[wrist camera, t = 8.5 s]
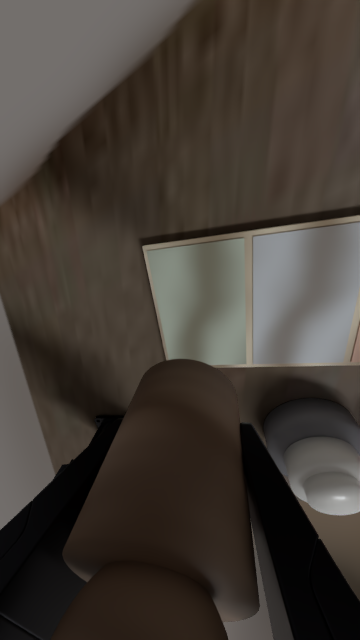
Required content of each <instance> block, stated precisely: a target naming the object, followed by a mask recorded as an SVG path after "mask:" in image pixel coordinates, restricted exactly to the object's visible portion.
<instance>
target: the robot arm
mask: <svg viewBox="0 0 360 640" xmlns="http://www.w3.org/2000/svg"><path fill="white" fill-rule="evenodd" d="M123 418H124V417H123V416H96V418H95V423H96V425H97V427H98V430H97V431H96V433H95V435H94V437H93V439H92V440H91V442H90V444H89V446H88V447H87V448H86V449H85V450H84V451H83V452H82V453H81V454H80V455H79V456H77V457H76V458H75V459H74V460H73V459H72V460H71V462H70V463H69V464H64V465H62V466H61V468H60V469H59V471H58V473H57V474H56V476H55V477H54V479H53V481H51V483H49V484H48V485H47V486H46V487H45V488H44V489H43V490H42V491H41V492H40V493H39V494H38V495H37V496H36V497H35V498H34V499H33V501H31V502H30V503H29V504H28V505H26V506H25V507H24V508H23V509H22V510H21V511H20V512H19V513H18V514H17V515H16V516H15V517H14V518H13V519H12V520H11V521H10V522H8V523H7V525H5V526H4V527H3V528H2V529H1V530H0V640H50V639H51V637H52V635H53V633H54V631H55V630H56V628H57V626H58V624H59V622H60V620H61V618H62V617H63V615H64V614H65V612H66V610H67V609H68V607H69V605H70V604H71V602H72V601H73V600H74V598H75V597H76V596H77V594H78V593H79V592H80V590H81V589H82V588H83V587H84V586H85V584H86V583H87V582H86V581H85V580H83V579H82V578H80V577H79V576H78V575H77V574H75V573H74V572H73V571H72V570H71V569H70V568H69V567H68V565H67V564H66V563H65V561H64V559H63V555H62V553H63V549H64V547H65V544H66V542H67V540H68V538H69V536H70V534H71V531H72V529H73V527H74V525H75V523H76V520H77V518H78V516H79V514H80V512H81V510H82V507H83V505H84V503H85V501H86V499H87V497H88V494H89V492H90V490H91V488H92V486H93V483H94V481H95V479H96V477H97V475H98V473H99V470H100V468H101V466H102V464H103V462H104V460H105V457H106V455H107V453H108V451H109V449H110V446H111V444H112V442H113V440H114V438H115V436H116V433H117V431H118V429H119V427H120V425H121V423H122V420H123ZM240 430H241V440H242V449H243V459H244V466H245V474H246V482H247V492H248V501H249V510H250V519H251V524H252V529H253V534H254V539H255V545H256V550H257V555H258V560H259V565H260V570H261V575H262V581H263V586H264V591H265V596H266V601H267V607H268V612H269V618H270V623H271V628H272V633H273V638H274V640H360V601H359V599H358V598H357V596H356V595H355V593H354V592H353V591H352V589H351V587H350V586H349V584H348V583H347V581H346V579H345V578H344V576H343V575H342V573H341V571H340V570H339V568H338V567H337V565H336V564H335V562H334V560H333V559H332V557H331V555H330V554H329V552H328V550H327V548H326V547H325V545H324V544H323V542H322V540H321V539H318V537H319V536H318V534H317V532H316V531H315V529H314V527H313V525H312V524H311V522H310V521H309V519H308V517H307V515H306V514H305V512H304V510H303V509H302V507H301V505H300V504H299V502H298V500H297V498H296V497H295V495H294V493H293V492H292V490H291V488H290V487H289V485H288V483H287V482H286V480H285V478H284V477H283V475H282V473H281V472H280V470H279V468H278V467H277V465H276V463H275V462H274V460H273V458H272V457H271V455H270V453H269V452H268V450H267V448H266V447H265V445H264V443H263V442H262V440H261V438H260V436H259V435H258V433H257V431H256V430H255V428H254V426H253V425H252V424H251V423H244V422H242V423H240Z"/></svg>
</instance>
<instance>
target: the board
mask: <svg viewBox="0 0 360 640" xmlns="http://www.w3.org/2000/svg"><path fill="white" fill-rule="evenodd" d="M142 247H143V252H144V257H145V262H146V266H147V271H148V276H149V280H150V285H151V290H152V295H153V299H154V304H155V309H156V314H157V318H158V323H159V328H160V333H161V337H162V342H163V347H164V352H165V356H166V360H171V359H191V360H196V361H200V362H203V363H206V364H208V365H211V366H213V367H214V368H222V367H280V366H338V365H360V215H354V216H347V217H340V218H333V219H326V220H319V221H312V222H305V223H298V224H291V225H283V226H276V227H269V228H262V229H255V230H248V231H241V232H234V233H227V234H220V235H213V236H206V237H199V238H192V239H185V240H178V241H171V242H164V243H157V244H150V245H144V246H142Z"/></svg>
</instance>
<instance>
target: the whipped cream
mask: <svg viewBox="0 0 360 640" xmlns="http://www.w3.org/2000/svg"><path fill="white" fill-rule="evenodd" d="M284 463H285V467H286V470H287V474H288V478H289V482H290V485H291V489H292V491H293V493H294V494H295V495H296V496H297V497H298V498H300V499H302V500H303V501H305V502H308V504H309V505H310V506H311V507H312V508H313V509H315V510H317V511H319V512H322V513H326V514H331V515H348V514H353V513H357V512H359V511H360V456H359V454H358V452H357V451H356V449H355V448H354V447H353V446H352V445H351V444H349V443H347V442H345V441H343V440H340V439H337V438H332V437H310V438H305V439H302V440H299V441H297V442H295V443H293V444H292V445H290V446H289V447H288V448H287V449H286V451H285V453H284Z"/></svg>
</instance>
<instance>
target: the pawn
mask: <svg viewBox="0 0 360 640" xmlns="http://www.w3.org/2000/svg"><path fill="white" fill-rule="evenodd" d="M62 555H63V559H64V561H65V563H66V564H67V565H68V567H69V568H70V569H71V570H72V571H73V572H74V573H75V574H77V575H78V576H79V577H80V578H82V579H83V580H85V581H86V582H87V583H86V584H85V586H84V587H83V588H82V589H81V590H80V592H79V593H78V594H77V596H76V597H75V598H74V600H73V601H72V602H71V604H70V605H69V607H68V609H67V610H66V612H65V614H64V615H63V617H62V618H61V620H60V622H59V624H58V626H57V628H56V630H55V631H54V633H53V635H52V637H51V639H50V640H228V636H227V633H226V630H225V627H224V625H223V622H233V621H240V620H244V619H247V618H250V617H252V616H253V615H255V614H256V613H257V612H258V611H259V607H260V604H259V595H258V586H257V576H256V567H255V557H254V548H253V539H252V529H251V520H250V510H249V501H248V492H247V482H246V474H245V466H244V459H243V449H242V440H241V430H240V417H239V408H238V399H237V393H236V390H235V388H234V386H233V384H232V383H231V381H230V380H229V379H228V378H227V377H226V376H225V375H224V374H223V373H222V372H221V371H219V370H218V369H216V368H214V367H213V366H211V365H208V364H206V363H203V362H200V361H196V360H191V359H171V360H166V361H163V362H160V363H158V364H156V365H154V366H153V367H151V368H150V369H149V370H148V371H147V372H146V373H145V374H144V375H143V377H142V379H141V381H140V383H139V386H138V388H137V390H136V392H135V394H134V396H133V399H132V401H131V403H130V405H129V407H128V409H127V412H126V414H125V416H124V418H123V420H122V423H121V425H120V427H119V429H118V431H117V433H116V436H115V438H114V440H113V442H112V444H111V446H110V449H109V451H108V453H107V455H106V457H105V460H104V462H103V464H102V466H101V468H100V470H99V473H98V475H97V477H96V479H95V481H94V483H93V486H92V488H91V490H90V492H89V494H88V497H87V499H86V501H85V503H84V505H83V507H82V510H81V512H80V514H79V516H78V518H77V520H76V523H75V525H74V527H73V529H72V531H71V534H70V536H69V538H68V540H67V542H66V544H65V547H64V549H63V553H62Z"/></svg>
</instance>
